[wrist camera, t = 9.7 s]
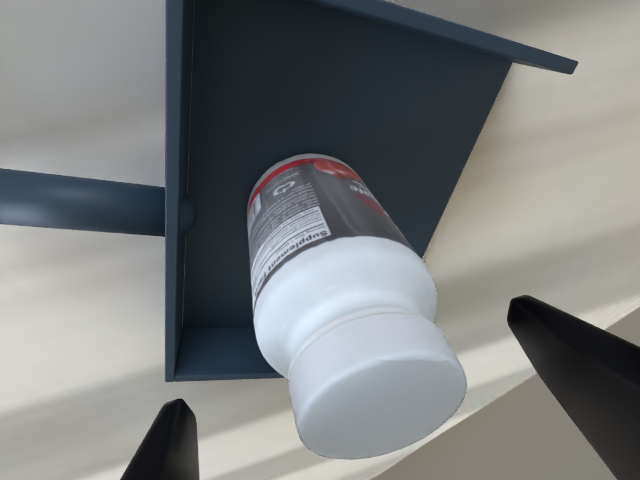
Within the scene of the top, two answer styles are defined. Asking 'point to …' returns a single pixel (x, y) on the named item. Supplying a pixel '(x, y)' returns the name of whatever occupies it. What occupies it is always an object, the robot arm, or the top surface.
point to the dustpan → (283, 145)
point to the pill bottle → (346, 312)
